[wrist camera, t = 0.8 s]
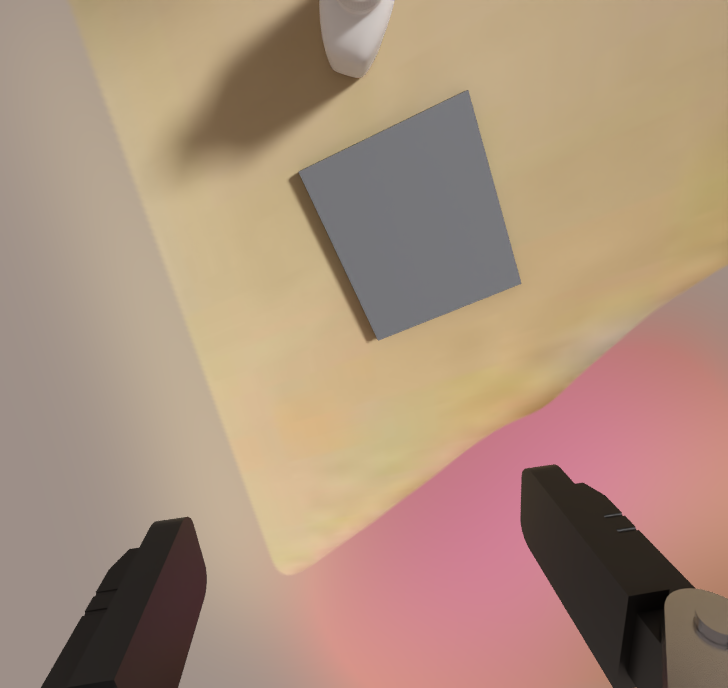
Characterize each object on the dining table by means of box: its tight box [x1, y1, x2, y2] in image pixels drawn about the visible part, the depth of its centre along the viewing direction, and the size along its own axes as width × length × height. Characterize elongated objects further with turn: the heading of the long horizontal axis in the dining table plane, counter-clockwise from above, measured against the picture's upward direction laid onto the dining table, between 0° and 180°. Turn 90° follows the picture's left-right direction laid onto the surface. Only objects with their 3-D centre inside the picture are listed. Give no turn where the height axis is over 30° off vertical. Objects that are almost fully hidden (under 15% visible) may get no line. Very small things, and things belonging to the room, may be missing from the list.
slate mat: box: [299, 90, 521, 340], centre depth 31 cm, size 14×12×1 cm
